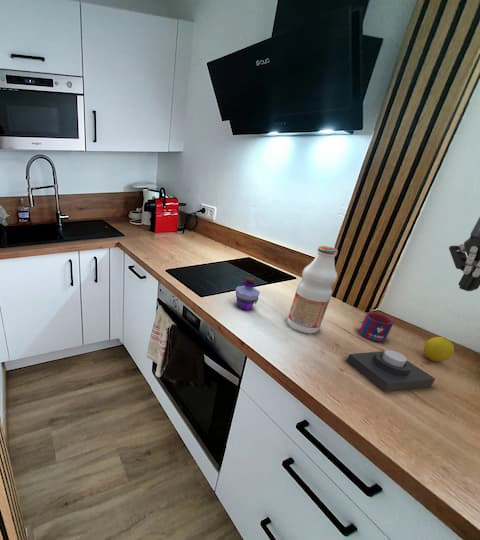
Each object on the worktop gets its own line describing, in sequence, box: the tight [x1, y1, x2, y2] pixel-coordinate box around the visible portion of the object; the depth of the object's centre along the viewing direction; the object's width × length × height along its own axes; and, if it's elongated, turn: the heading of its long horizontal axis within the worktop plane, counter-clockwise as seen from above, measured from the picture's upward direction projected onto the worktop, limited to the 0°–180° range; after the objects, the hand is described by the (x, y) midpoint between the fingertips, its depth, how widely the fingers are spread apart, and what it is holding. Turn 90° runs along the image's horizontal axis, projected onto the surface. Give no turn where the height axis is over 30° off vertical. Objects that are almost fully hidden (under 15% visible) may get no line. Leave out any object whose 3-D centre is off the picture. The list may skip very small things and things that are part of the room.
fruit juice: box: [286, 245, 339, 334], centre depth 92 cm, size 9×9×28 cm
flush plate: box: [346, 350, 436, 393], centre depth 76 cm, size 14×11×4 cm
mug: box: [358, 310, 395, 343], centre depth 93 cm, size 7×10×7 cm
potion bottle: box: [235, 276, 261, 312], centre depth 106 cm, size 9×9×12 cm
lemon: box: [423, 336, 455, 362], centre depth 81 cm, size 6×6×8 cm
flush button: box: [382, 349, 408, 367], centre depth 75 cm, size 4×4×2 cm
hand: (465, 289), depth 69 cm, fingers closed
